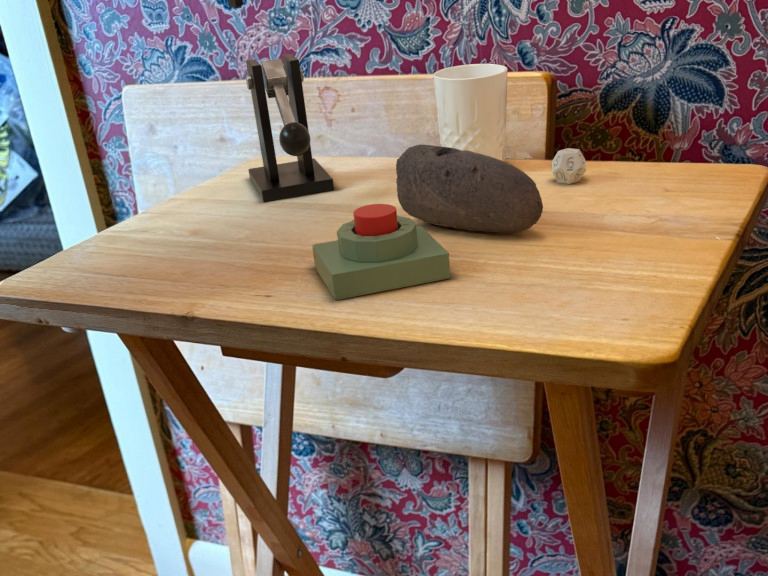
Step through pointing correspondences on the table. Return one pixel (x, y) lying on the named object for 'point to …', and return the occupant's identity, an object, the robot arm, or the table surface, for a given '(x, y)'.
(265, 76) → the lever
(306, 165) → the bracket
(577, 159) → the game die
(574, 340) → the table surface
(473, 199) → the perforated stone tool
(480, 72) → the white cup
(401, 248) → the button block
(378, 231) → the button
